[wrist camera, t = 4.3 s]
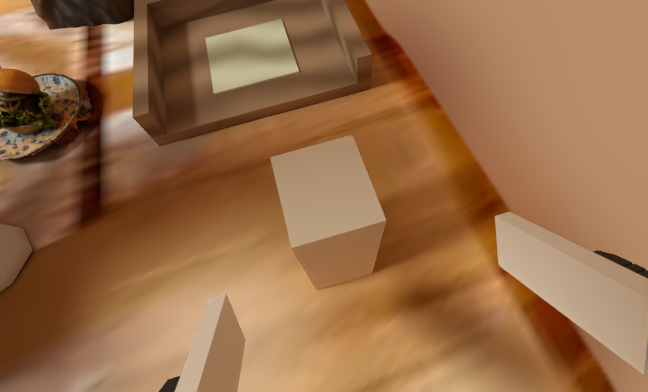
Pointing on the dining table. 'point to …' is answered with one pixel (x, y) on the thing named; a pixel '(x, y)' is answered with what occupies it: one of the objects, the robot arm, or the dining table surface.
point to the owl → (83, 12)
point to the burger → (38, 112)
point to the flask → (12, 253)
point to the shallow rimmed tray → (240, 61)
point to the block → (330, 210)
